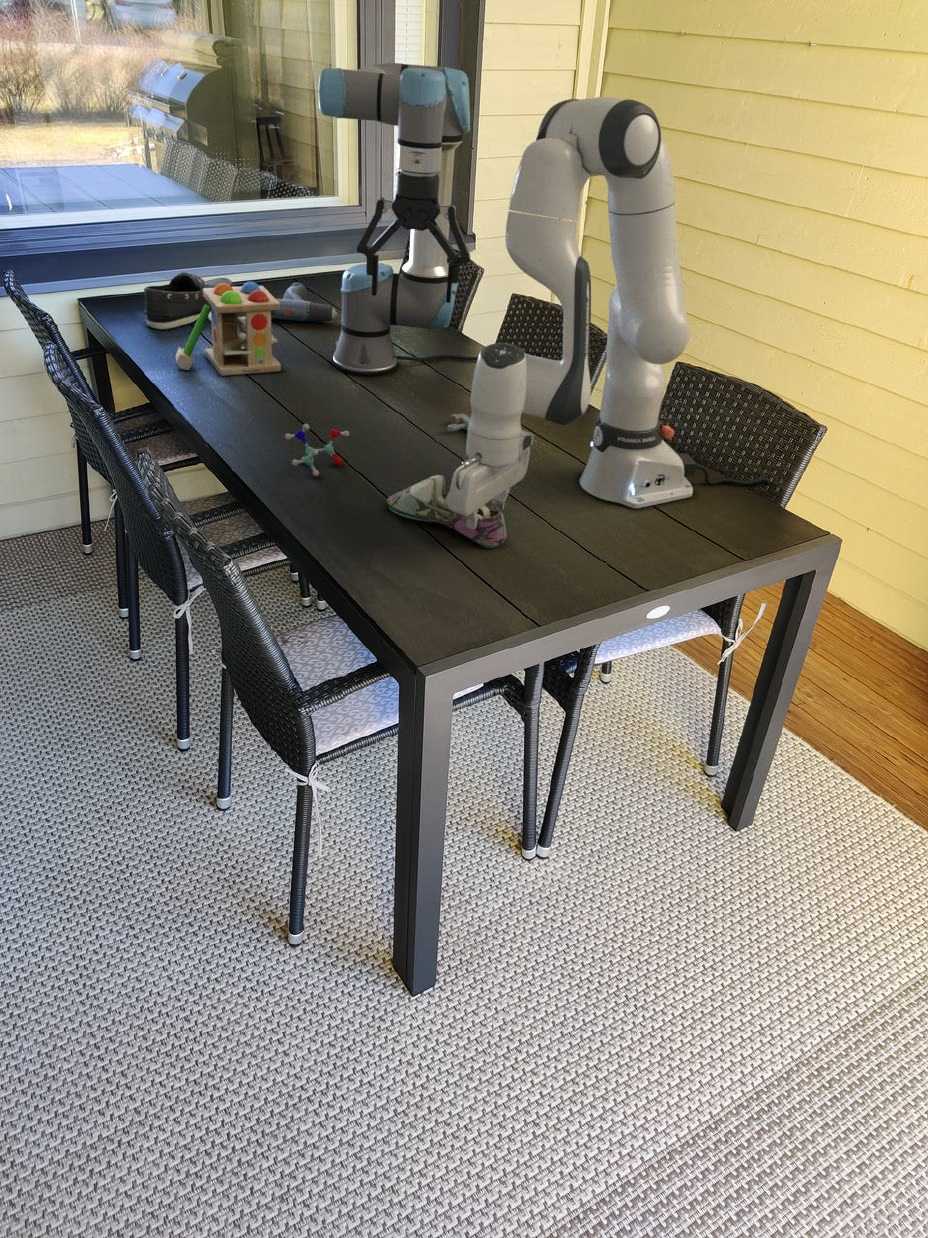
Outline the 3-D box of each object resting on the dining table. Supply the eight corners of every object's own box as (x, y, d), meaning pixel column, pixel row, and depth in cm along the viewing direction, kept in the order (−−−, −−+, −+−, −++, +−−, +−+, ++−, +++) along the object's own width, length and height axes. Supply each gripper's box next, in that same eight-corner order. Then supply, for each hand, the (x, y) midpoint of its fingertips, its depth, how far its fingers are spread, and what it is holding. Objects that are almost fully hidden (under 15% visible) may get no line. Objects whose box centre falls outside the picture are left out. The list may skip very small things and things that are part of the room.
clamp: (439, 415, 210) (479, 410, 214) (438, 425, 211) (478, 419, 216) (475, 444, 199) (516, 437, 204) (474, 454, 201) (515, 447, 205)
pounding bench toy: (183, 379, 220) (176, 299, 210) (169, 357, 231) (162, 280, 221) (282, 371, 230) (280, 294, 220) (264, 350, 240) (262, 276, 230)
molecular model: (334, 468, 182) (316, 416, 180) (292, 484, 185) (274, 433, 184) (360, 462, 192) (343, 413, 191) (320, 477, 196) (303, 429, 194)
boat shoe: (255, 307, 269) (253, 268, 263) (164, 331, 245) (159, 289, 239) (221, 298, 274) (218, 260, 269) (128, 321, 250) (123, 279, 245)
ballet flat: (405, 496, 184) (408, 454, 179) (516, 539, 174) (521, 496, 169) (378, 512, 178) (380, 468, 173) (490, 557, 168) (495, 513, 163)
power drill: (344, 304, 276) (335, 327, 259) (277, 298, 275) (264, 321, 258) (344, 285, 273) (335, 306, 256) (277, 279, 272) (264, 300, 255)
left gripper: (342, 168, 165) (340, 296, 177) (490, 183, 165) (478, 309, 177) (348, 161, 171) (346, 284, 183) (490, 175, 171) (479, 297, 183)
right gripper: (475, 471, 153) (467, 547, 161) (539, 432, 168) (529, 503, 176) (441, 459, 156) (436, 535, 164) (507, 421, 171) (499, 492, 179)
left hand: (411, 297), depth 180 cm, fingers open, 13 cm apart
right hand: (485, 518), depth 170 cm, fingers open, 7 cm apart
